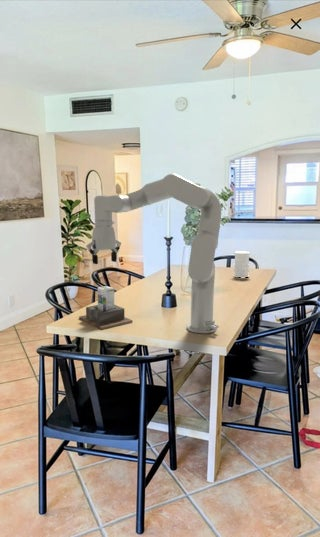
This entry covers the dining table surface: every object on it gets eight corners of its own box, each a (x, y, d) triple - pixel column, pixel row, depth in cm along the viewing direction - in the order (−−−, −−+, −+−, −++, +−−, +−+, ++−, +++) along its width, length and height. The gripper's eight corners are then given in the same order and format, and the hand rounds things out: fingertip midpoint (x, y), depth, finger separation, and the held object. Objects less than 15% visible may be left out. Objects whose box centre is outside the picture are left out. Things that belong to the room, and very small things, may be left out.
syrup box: (97, 318, 178) (96, 287, 176) (107, 315, 182) (107, 285, 180) (104, 321, 174) (103, 289, 172) (115, 318, 178) (114, 287, 176)
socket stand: (132, 322, 176) (132, 309, 175) (101, 329, 166) (101, 316, 165) (108, 312, 191) (108, 300, 190) (79, 318, 181) (78, 306, 180)
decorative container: (239, 274, 289) (240, 250, 286) (252, 277, 280) (253, 252, 277) (229, 276, 282) (230, 252, 278) (242, 279, 273) (243, 253, 270)
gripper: (115, 223, 179) (116, 259, 182) (81, 224, 168) (83, 263, 171) (124, 223, 173) (125, 261, 176) (90, 225, 162) (92, 265, 165)
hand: (104, 262), depth 173 cm, fingers open, 9 cm apart
